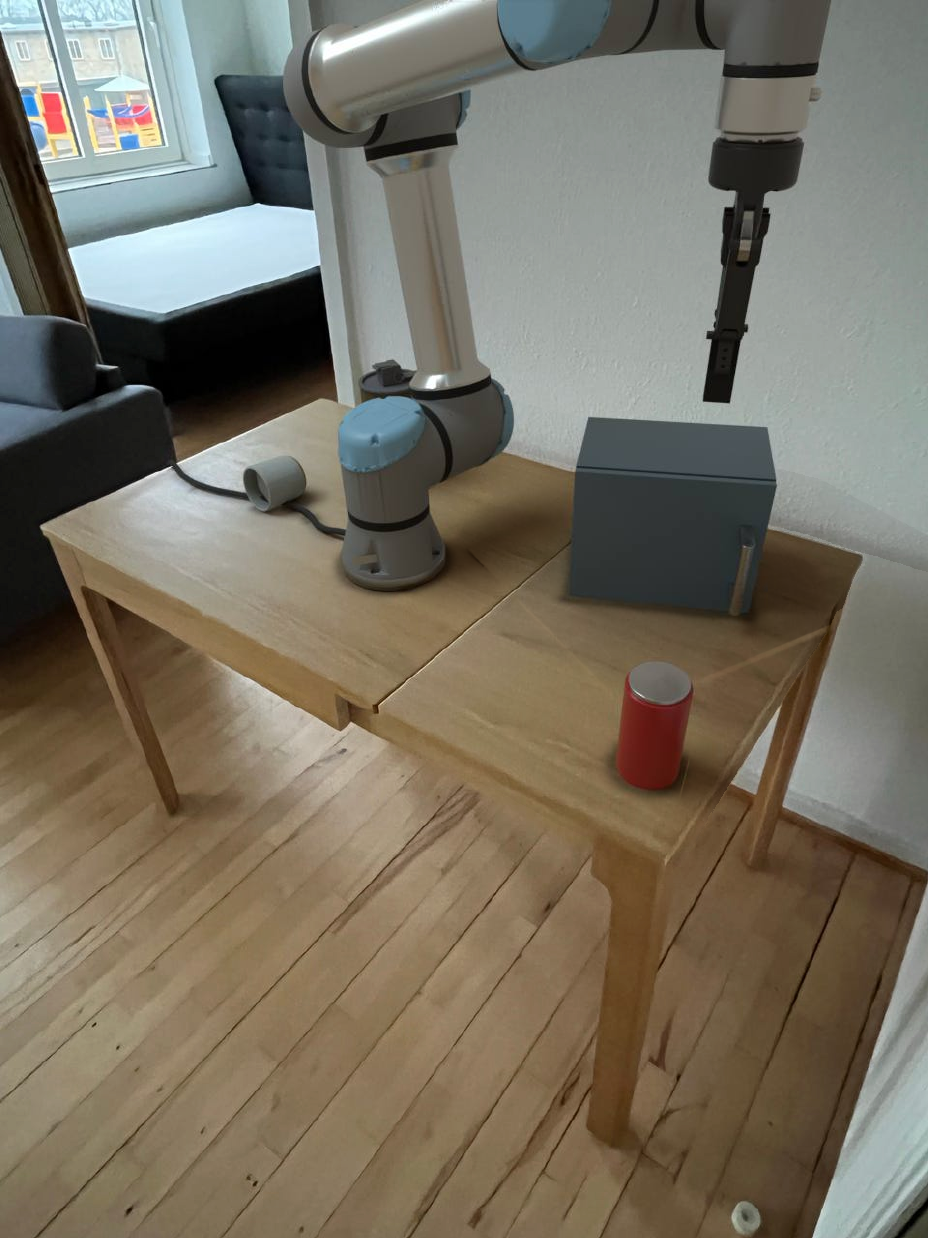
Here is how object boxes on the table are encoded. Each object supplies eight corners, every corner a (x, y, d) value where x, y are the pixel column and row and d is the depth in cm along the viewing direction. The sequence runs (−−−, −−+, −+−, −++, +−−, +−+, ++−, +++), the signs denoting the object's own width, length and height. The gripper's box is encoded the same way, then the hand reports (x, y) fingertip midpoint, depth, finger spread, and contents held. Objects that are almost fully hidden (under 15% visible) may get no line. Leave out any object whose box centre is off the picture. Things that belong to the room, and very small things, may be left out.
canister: (380, 495, 137) (368, 379, 125) (361, 470, 144) (347, 358, 132) (440, 481, 140) (433, 367, 128) (417, 457, 148) (409, 347, 136)
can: (610, 745, 89) (619, 660, 82) (670, 742, 89) (684, 657, 82) (622, 792, 84) (633, 705, 77) (685, 788, 84) (702, 702, 77)
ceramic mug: (313, 498, 136) (305, 456, 132) (273, 517, 132) (264, 474, 127) (274, 481, 142) (266, 440, 138) (235, 499, 138) (225, 457, 133)
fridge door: (750, 641, 103) (781, 507, 91) (563, 621, 107) (570, 491, 95) (747, 612, 107) (776, 481, 96) (568, 594, 112) (576, 467, 100)
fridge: (747, 612, 108) (776, 479, 96) (569, 594, 112) (576, 465, 100) (741, 552, 119) (767, 426, 107) (580, 538, 124) (588, 416, 112)
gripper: (811, 145, 64) (756, 428, 78) (800, 125, 74) (752, 378, 88) (712, 145, 65) (675, 422, 79) (714, 125, 75) (681, 374, 89)
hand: (716, 399), depth 84 cm, fingers closed
